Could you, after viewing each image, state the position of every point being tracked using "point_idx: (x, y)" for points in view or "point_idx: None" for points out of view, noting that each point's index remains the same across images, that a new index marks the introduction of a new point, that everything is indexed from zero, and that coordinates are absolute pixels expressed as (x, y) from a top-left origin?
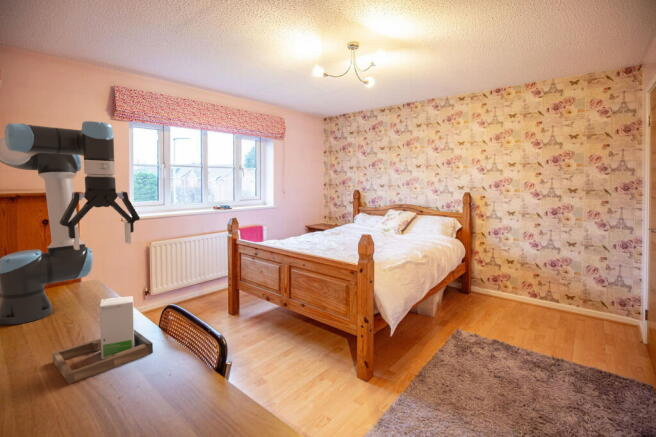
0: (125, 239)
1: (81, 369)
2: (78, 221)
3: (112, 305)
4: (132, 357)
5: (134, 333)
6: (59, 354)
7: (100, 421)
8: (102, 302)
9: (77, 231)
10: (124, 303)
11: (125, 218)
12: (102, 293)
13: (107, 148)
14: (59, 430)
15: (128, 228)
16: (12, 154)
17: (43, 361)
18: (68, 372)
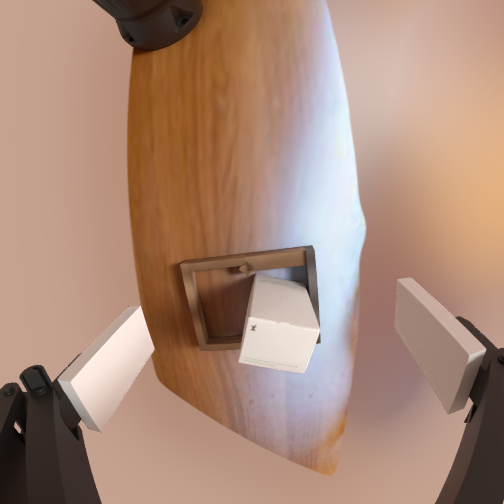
0: (404, 294)
1: (216, 349)
2: (85, 460)
3: (263, 366)
4: None
5: (310, 285)
6: (189, 279)
7: (229, 419)
8: (246, 343)
9: (108, 413)
10: (287, 370)
11: (473, 418)
12: None
13: None
14: (197, 408)
15: (435, 386)
16: None
17: (173, 249)
18: (201, 346)
